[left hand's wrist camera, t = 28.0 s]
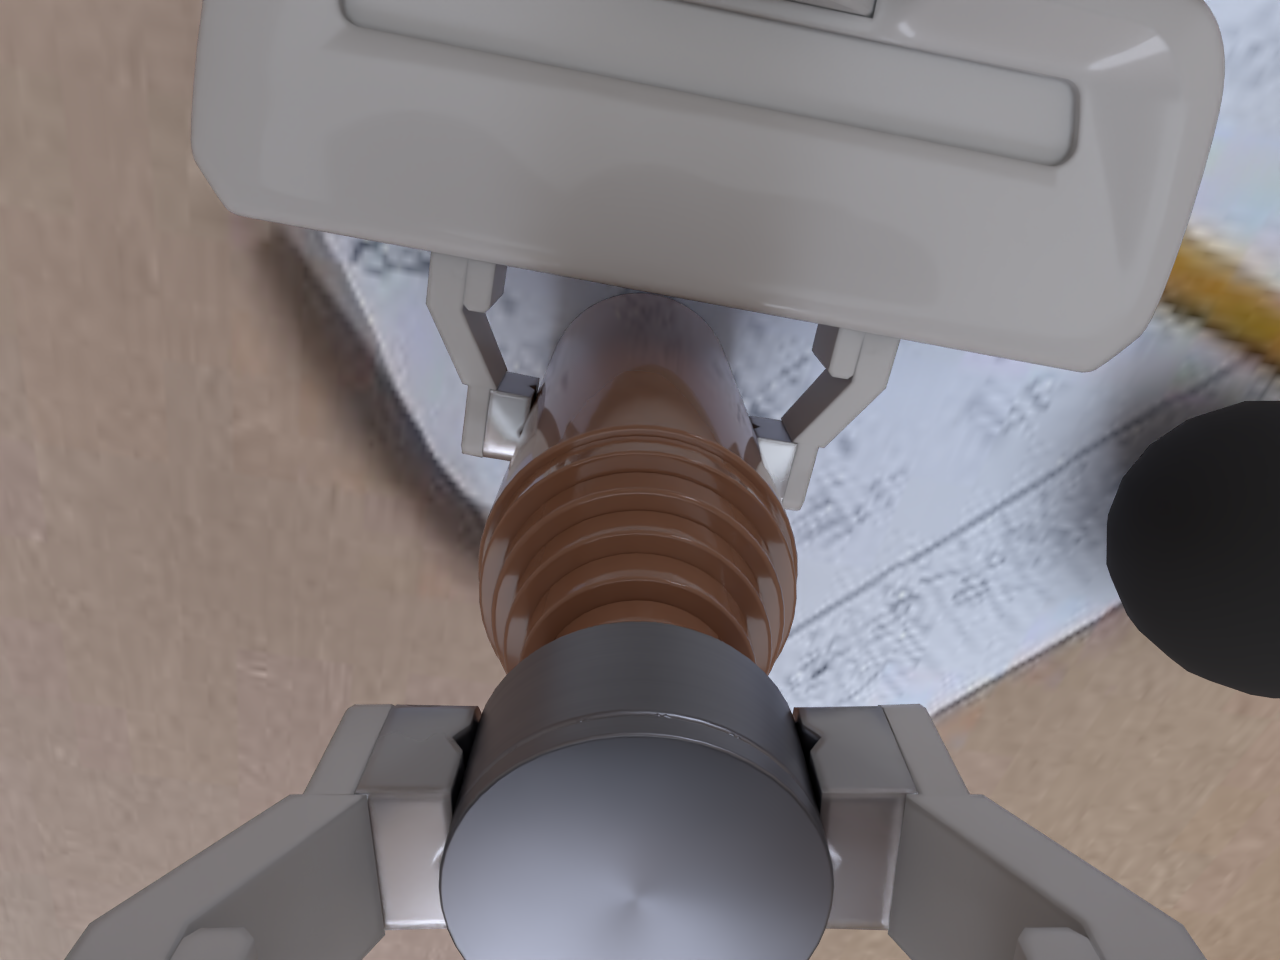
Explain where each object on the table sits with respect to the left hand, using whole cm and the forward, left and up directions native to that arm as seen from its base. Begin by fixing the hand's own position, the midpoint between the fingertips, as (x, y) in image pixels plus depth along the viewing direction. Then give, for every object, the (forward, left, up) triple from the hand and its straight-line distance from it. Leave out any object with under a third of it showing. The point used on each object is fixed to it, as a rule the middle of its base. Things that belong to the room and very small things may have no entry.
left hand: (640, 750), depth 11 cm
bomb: (-3, -17, -17) cm, 24 cm away
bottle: (0, 0, -17) cm, 17 cm away
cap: (0, 0, +2) cm, 2 cm away
